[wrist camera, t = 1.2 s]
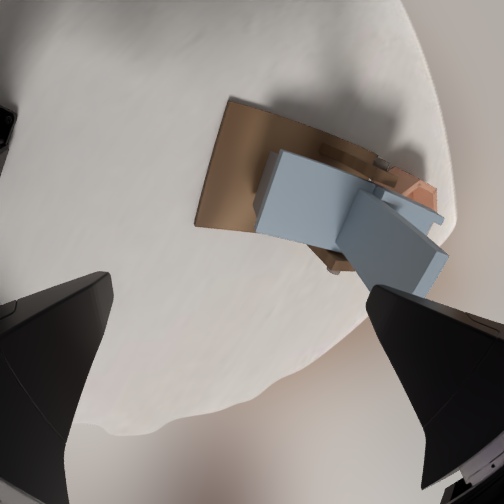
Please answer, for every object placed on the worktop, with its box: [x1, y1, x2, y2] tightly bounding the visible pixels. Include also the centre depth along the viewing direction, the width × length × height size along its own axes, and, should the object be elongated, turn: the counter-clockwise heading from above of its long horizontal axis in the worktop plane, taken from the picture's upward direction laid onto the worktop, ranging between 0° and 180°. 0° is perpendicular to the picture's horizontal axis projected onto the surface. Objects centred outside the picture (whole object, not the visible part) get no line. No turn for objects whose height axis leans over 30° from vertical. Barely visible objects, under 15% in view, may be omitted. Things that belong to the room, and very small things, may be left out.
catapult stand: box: [194, 101, 399, 275], centre depth 19 cm, size 14×9×6 cm, turn 72°
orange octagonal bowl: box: [373, 167, 437, 224], centre depth 26 cm, size 8×8×3 cm
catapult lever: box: [252, 149, 449, 298], centre depth 16 cm, size 13×5×11 cm, turn 72°
